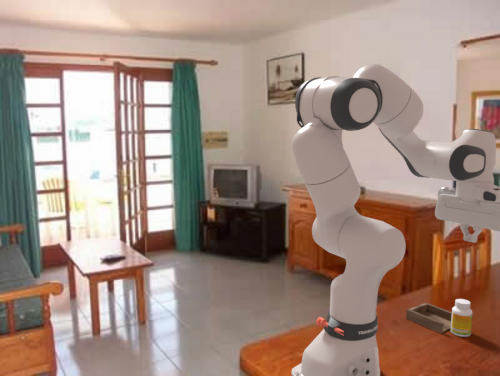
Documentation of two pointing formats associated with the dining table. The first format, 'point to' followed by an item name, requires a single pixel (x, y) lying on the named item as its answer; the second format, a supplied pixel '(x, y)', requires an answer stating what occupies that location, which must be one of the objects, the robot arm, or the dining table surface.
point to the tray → (430, 317)
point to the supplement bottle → (461, 318)
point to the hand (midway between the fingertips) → (470, 241)
